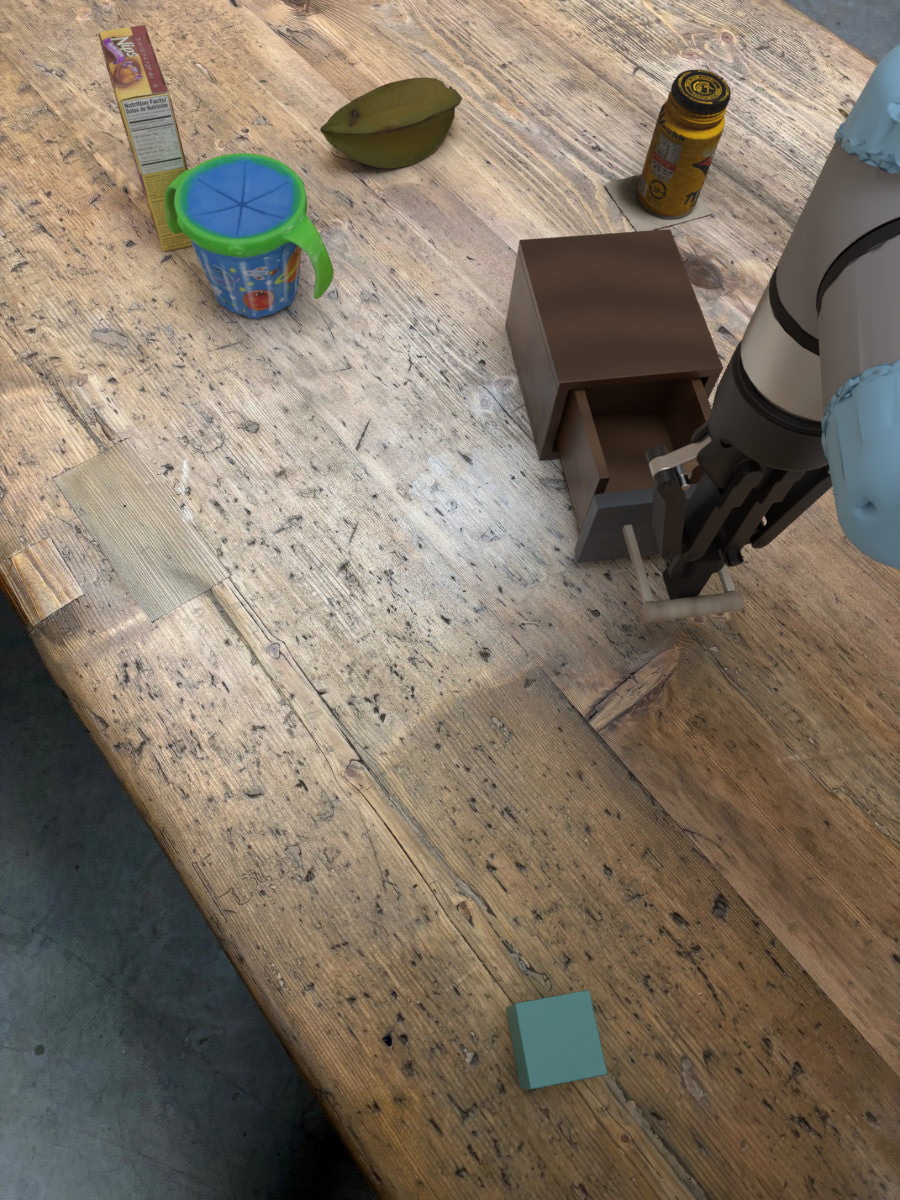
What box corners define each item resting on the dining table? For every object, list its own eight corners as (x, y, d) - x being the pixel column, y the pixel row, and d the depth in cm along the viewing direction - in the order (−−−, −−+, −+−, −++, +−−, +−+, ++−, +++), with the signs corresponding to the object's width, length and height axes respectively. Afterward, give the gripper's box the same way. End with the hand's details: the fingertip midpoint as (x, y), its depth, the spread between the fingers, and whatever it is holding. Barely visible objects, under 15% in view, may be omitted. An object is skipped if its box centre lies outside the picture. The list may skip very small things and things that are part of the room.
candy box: (139, 189, 88) (95, 28, 75) (184, 181, 89) (149, 21, 76) (158, 254, 85) (116, 98, 71) (206, 245, 86) (173, 89, 72)
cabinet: (686, 445, 79) (723, 368, 70) (539, 461, 77) (559, 383, 68) (641, 315, 85) (670, 228, 77) (504, 326, 84) (519, 239, 75)
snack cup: (149, 283, 83) (121, 187, 74) (228, 219, 87) (210, 120, 78) (285, 368, 80) (273, 277, 71) (361, 296, 84) (358, 203, 75)
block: (592, 1074, 57) (607, 1074, 53) (520, 1088, 56) (530, 1089, 52) (575, 995, 59) (589, 989, 55) (505, 1008, 58) (514, 1003, 54)
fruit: (440, 196, 91) (444, 135, 85) (320, 172, 91) (316, 110, 85) (463, 122, 96) (468, 59, 90) (349, 100, 96) (347, 36, 90)
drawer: (749, 634, 70) (790, 585, 63) (600, 654, 68) (625, 606, 61) (672, 409, 79) (700, 345, 72) (540, 422, 78) (555, 358, 71)
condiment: (712, 214, 92) (755, 101, 81) (638, 235, 90) (673, 122, 79) (675, 167, 95) (712, 52, 84) (602, 186, 93) (631, 70, 82)
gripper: (900, 303, 49) (745, 536, 70) (665, 323, 47) (578, 555, 68) (959, 416, 46) (777, 625, 67) (708, 442, 44) (603, 648, 65)
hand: (677, 589), depth 67 cm, fingers closed
